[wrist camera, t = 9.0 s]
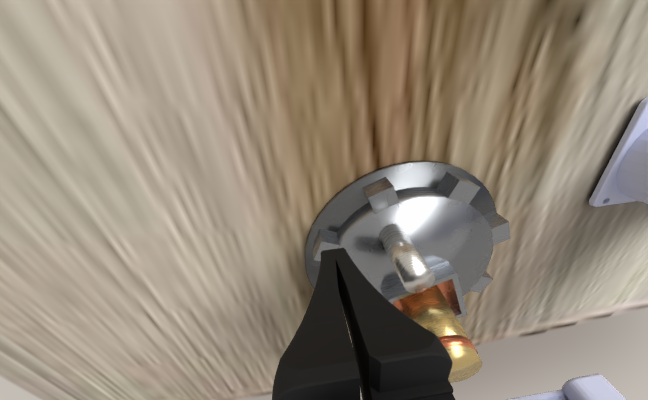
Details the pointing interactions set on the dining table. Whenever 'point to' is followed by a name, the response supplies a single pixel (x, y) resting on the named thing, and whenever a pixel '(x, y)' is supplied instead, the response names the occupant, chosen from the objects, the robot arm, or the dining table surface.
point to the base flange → (400, 178)
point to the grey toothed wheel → (420, 240)
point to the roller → (444, 330)
